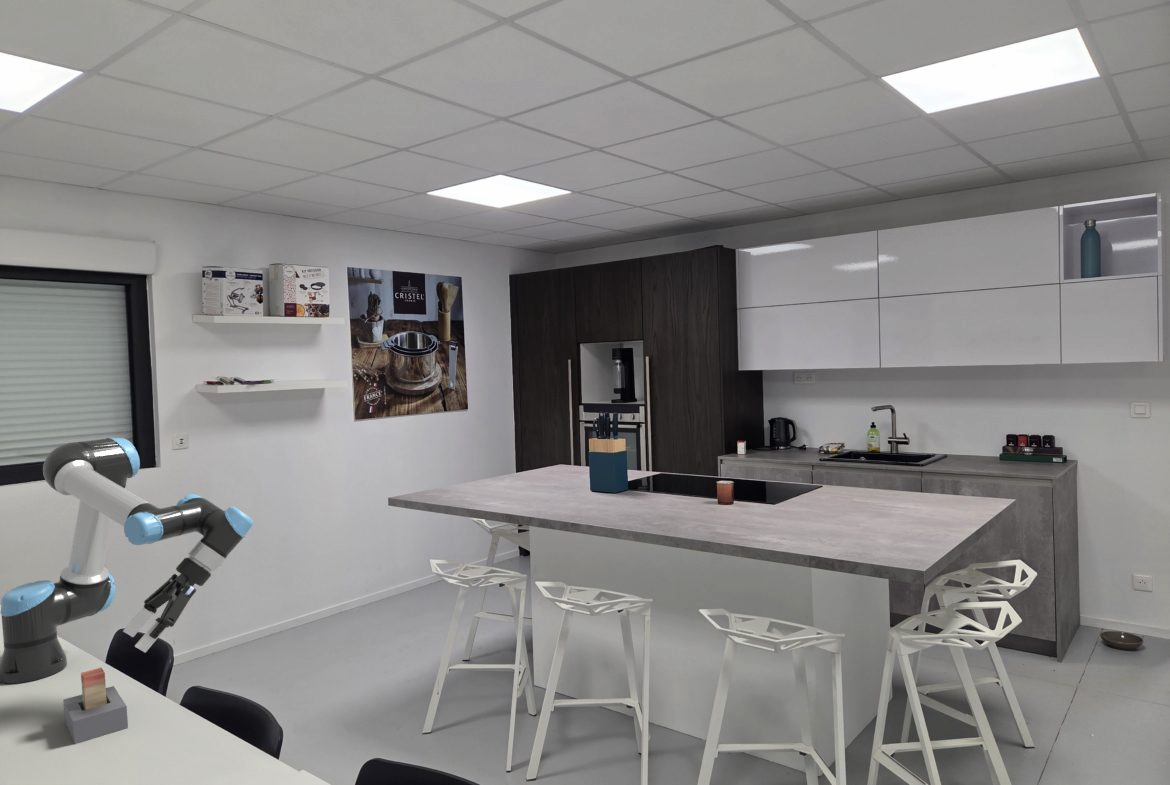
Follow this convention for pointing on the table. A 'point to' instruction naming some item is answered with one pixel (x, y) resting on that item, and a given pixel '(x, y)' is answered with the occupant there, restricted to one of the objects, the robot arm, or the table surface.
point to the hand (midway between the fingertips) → (133, 641)
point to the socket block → (95, 717)
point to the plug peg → (93, 688)
